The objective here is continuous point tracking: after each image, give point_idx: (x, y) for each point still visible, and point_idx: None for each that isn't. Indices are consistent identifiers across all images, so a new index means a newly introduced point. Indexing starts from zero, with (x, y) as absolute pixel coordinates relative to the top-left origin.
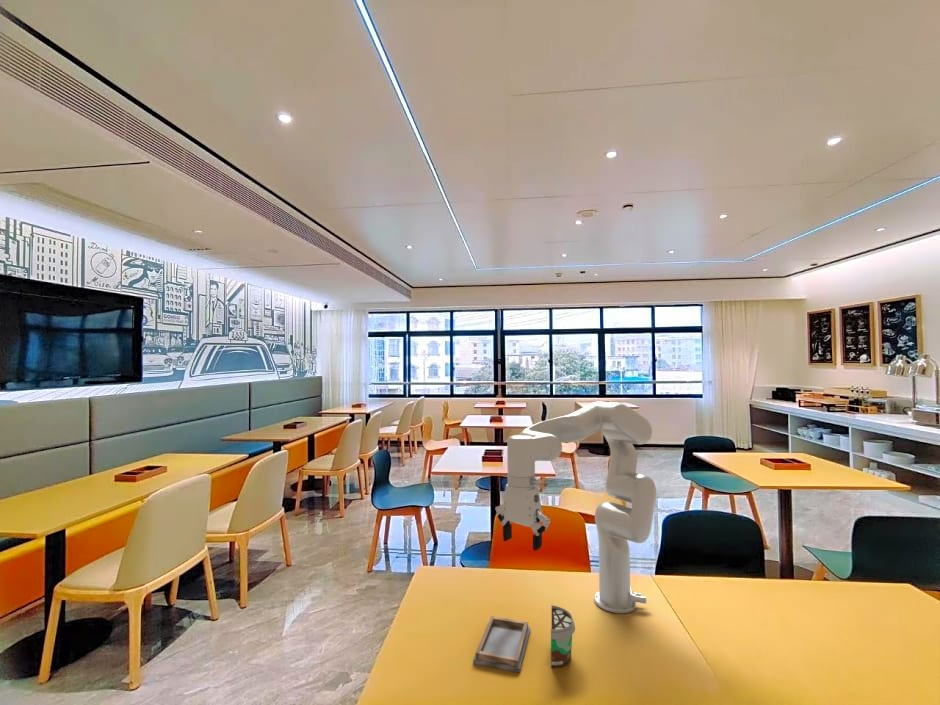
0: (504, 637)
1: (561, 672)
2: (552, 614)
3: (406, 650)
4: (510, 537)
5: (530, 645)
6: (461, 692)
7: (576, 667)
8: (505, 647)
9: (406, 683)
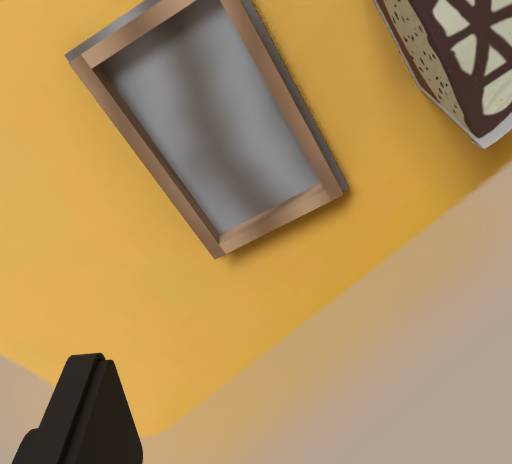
0: (198, 100)
1: None
2: (418, 4)
3: (42, 336)
4: (115, 391)
5: (289, 39)
6: (273, 329)
7: None
8: (244, 143)
9: (159, 389)
